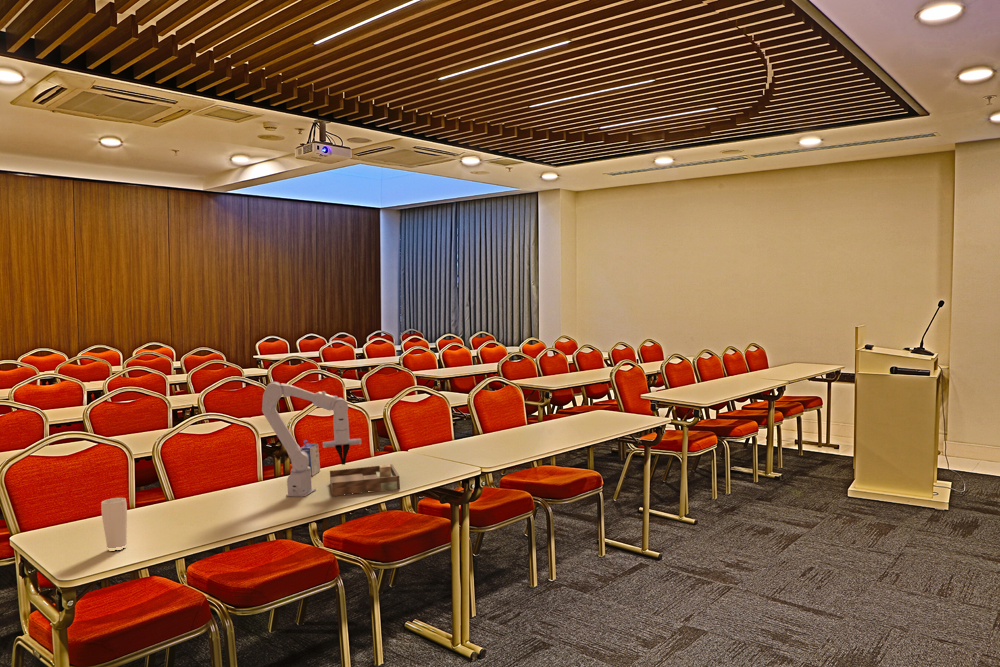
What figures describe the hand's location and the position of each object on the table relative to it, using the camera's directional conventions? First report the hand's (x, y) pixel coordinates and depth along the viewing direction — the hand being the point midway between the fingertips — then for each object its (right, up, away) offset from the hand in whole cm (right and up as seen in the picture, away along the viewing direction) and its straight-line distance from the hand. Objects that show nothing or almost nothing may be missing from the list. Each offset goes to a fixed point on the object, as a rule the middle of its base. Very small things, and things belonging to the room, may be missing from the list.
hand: (343, 464), depth 281 cm
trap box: (+8, -9, +2) cm, 12 cm away
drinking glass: (-55, -15, -61) cm, 84 cm away
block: (+16, -6, +4) cm, 17 cm away
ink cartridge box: (-20, -9, +28) cm, 36 cm away
